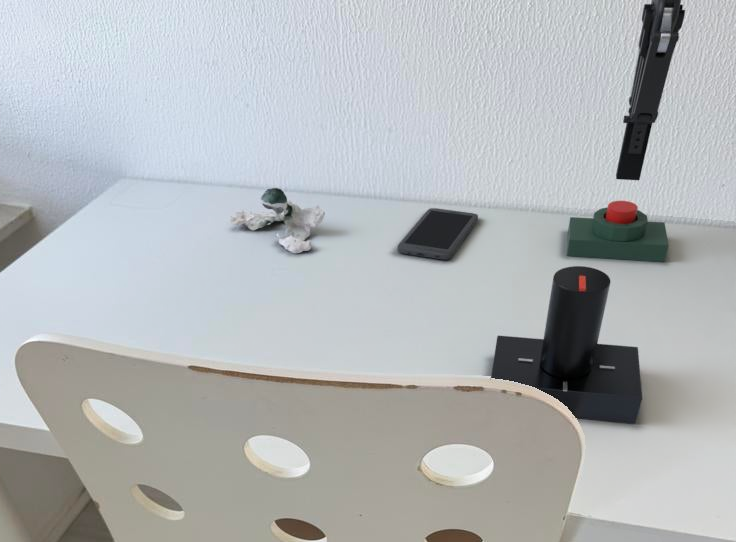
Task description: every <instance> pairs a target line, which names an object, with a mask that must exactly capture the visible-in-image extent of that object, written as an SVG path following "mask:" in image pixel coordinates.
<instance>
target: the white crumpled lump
mask: <svg viewBox="0 0 736 542" xmlns="http://www.w3.org/2000/svg"><path fill="white" fill-rule="evenodd" d="M260 203H261V204H262V206H263V207H264V208H265V209H267V210H273V211H271V212H265V211H264V212H261V213H256V212H254V213H253V212H251V211H249V212H245V211H244V210H241V211H238V212H235V214H234V216H231V215H230V216H229V217H228V219H229V221H230V223H232V225H234V226H236V227H238V226H241V225H245V226H246V227H247V228H248V230H251V231H252V232H253V231H256V230H258V229H259V228H260V229H261V228H262V229H263V227H265V226H269V225H271V224H272V223H274V222H281V221H282V222H283V223H284V225H285V226H286V229H285V231H284V234H285V237H282V236H281V233H276V237H277V238H279V239H278V244H279V245H281V246H283V247H284V250H287V251H288V252H290V253H291V254H299V253H302V252H303V251H305V252H306V251H307V252H308V251H310V250H311V249H312V240H311V239H308V240H307V241H306V239H307V238H308V237H309V236H310V235H311V229H310V228H317V227H318V226H319V225H320V224H321V223H322V222H323V220H324V219H325V215H326V212H325V210H322V209H321V208H320V205H319V204H316V205H314V206H313V207H307V208H303V209H302V208H301V207H300V206H299V205H298V204H295V203H293V202H292V201H291V200H288V197H287V195H286V194H285V192H284V191H283V190H282V189H281V188H278V187H272V188H267V190H265V191H264V193H263V194H262V195H261V197H260ZM282 213H283V214H282ZM281 237H282V238H281Z"/></svg>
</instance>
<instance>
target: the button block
mask: <svg viewBox="0 0 736 542" xmlns="http://www.w3.org/2000/svg"><path fill="white" fill-rule="evenodd" d="M607 208H608V206H607V207H602V208H600V209H598V210H596V211H594V213H593V217H577V216H576V217H575V216H570V217H569V222H568V228H567V238H566V240H567V241H566V256H567V257H578V258H579V257H581V258H594V259H595V258H597V259H609V260H610V259H613V260H625V261H626V260H627V261H640V262H641V261H642V262H643V261H644V262H658V263H659V262H660V263H665V261H666V257H667V253H668V250H669V240H668V234H667V228H666V223H665V222H664V221H650V220H649V221H648V215H647V214H645V213H644V212H643V211H641V210H639V209H637V214H636V218H635V222H634V223H629V224H617V223H613V222H610V221H607V220H606V213H607Z"/></svg>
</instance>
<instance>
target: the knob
mask: <svg viewBox="0 0 736 542" xmlns="http://www.w3.org/2000/svg"><path fill="white" fill-rule="evenodd" d="M552 277H553V279H552V284H551V290H550V296H549V302H548V308H547V315H546V321H545V328H544V334H543V339H544V340H543V346H542V352H541V359H540V364H541V367H542V368H543V369H544V370H545V371H546V372H548V373H549V374H551V375H554V376H557V377H561V378H578V377H582V376H585V375H586V374H588V373H589V372H590V371H591V369H592V366H593V362H594V357H595V352H596V348H597V344H599V343H598V342H599V338H600V333H601V328H602V324H603V319H604V315H605V310H606V306H607V302H608V301H607V300H608V295H609V292H610V288H611V287H610V286H611V278H610V276H609V275H608V274H607V273H605V272H604V271H602V270H600V269H597V268H594V267H590V266H582V265H574V266H573V265H572V266H567V267H563V268H560V269H558V270H557V271H555V273H554V275H553V276H552Z"/></svg>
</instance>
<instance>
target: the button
mask: <svg viewBox="0 0 736 542" xmlns="http://www.w3.org/2000/svg"><path fill="white" fill-rule="evenodd" d="M607 207H608V208H607ZM607 207H606V208H607V213H606V220H607V221H610V222H613V223H617V224H629V223H634V222H635V218H636V214H637V210H639V209H638V208H639V206H638V205H637V204H636V203H634V202H631V201H628V200H614V201H610V202H609V203H608V204H607Z"/></svg>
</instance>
